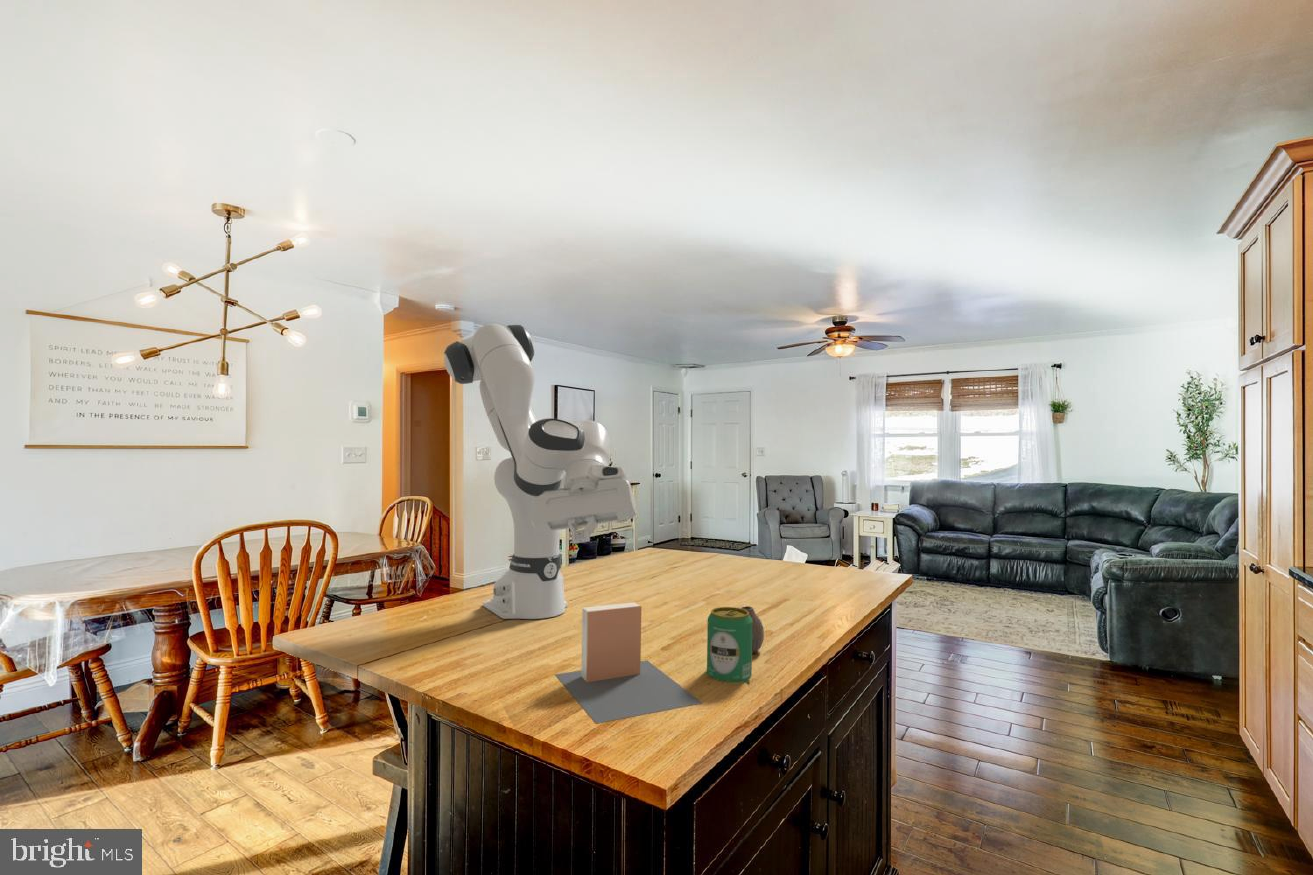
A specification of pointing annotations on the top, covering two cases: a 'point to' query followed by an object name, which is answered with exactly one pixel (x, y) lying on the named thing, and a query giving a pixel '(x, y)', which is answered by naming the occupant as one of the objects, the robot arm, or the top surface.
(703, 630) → the top surface
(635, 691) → the mat
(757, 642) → the vase
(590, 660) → the tile
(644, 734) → the top surface
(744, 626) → the beverage can
